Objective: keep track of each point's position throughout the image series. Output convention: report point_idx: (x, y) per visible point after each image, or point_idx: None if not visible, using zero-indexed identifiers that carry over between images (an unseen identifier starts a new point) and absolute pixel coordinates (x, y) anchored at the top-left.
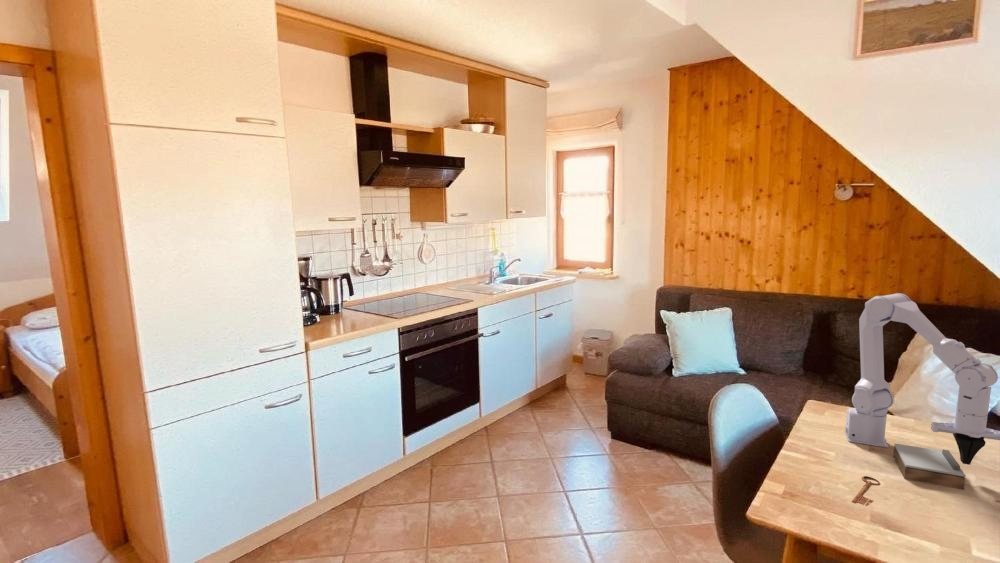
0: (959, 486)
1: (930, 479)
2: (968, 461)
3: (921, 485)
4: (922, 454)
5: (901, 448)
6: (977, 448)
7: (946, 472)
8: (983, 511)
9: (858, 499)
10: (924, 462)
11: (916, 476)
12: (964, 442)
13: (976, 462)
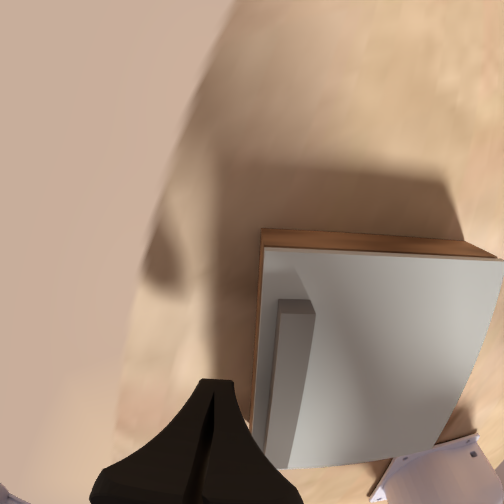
0: (280, 231)
1: (397, 240)
2: (209, 388)
3: (428, 201)
4: (382, 412)
5: (434, 423)
6: (154, 454)
7: (359, 254)
8: (248, 34)
9: None
10: (420, 331)
11: (445, 243)
12: (255, 491)
13: None
